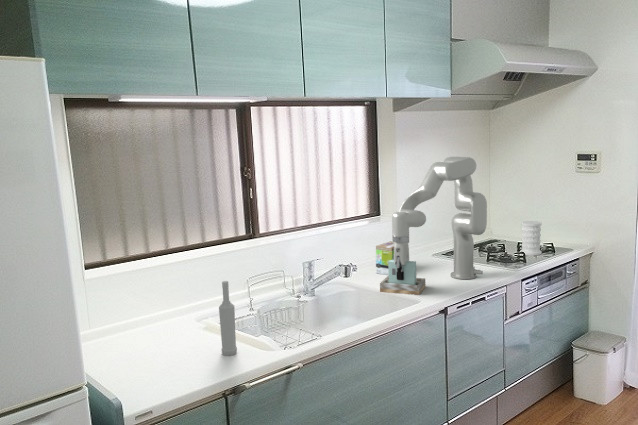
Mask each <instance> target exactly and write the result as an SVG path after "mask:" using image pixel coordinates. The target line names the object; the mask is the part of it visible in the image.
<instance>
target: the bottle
mask: <svg viewBox="0 0 638 425" xmlns="http://www.w3.org/2000/svg"><path fill="white" fill-rule="evenodd" d="M221 287H222V300H223V301H222V302H221V304H220V305H219V306H218V314H219V324H220V337H221V355H223V356H225V357H232V356H234V355H236V354H237V352H238V351H237V350H238V348H237V343H236V341H237V340H236V338H237V337H236V318H235V317H236V315H235V312H236V311H235V305H234V304H233V303H232V302H231V300H230V292H229V281H228V280H224V281H222V282H221Z"/></svg>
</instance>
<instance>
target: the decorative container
mask: <svg viewBox="0 0 638 425" xmlns="http://www.w3.org/2000/svg"><path fill="white" fill-rule="evenodd" d="M520 225H521V226H522V228H521V230H522V232H521V236H522V239H521V242H522V244H521V249H520V251H523V252H524V253H525V254H526V255H525V256H540V255H543V254H542V252H543V251H542V250H541V249H540V248H541V230H542V229H541V226H542V225H543V224H542V222H541V221H538V220H524V221H521V224H520ZM520 251H519V252H520Z"/></svg>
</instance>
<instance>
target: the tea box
mask: <svg viewBox="0 0 638 425" xmlns="http://www.w3.org/2000/svg"><path fill="white" fill-rule="evenodd" d="M390 260H394V243H393V240H392V241H387V242H385V243H381V244H377V245H376V246H375V273H376V274H379V275H385V276H389V268H388V262H389V261H390Z"/></svg>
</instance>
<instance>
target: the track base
mask: <svg viewBox="0 0 638 425" xmlns="http://www.w3.org/2000/svg"><path fill="white" fill-rule="evenodd" d="M426 286H427V285H426V278H422V277H416V285H409V284H396V283H389V275H386V277H385V278H384V279H383V280H381V281H380V283H379V292H381V293H391V294H401V293H404V295H413V294H414V295H415V296H420V294H421V293H422V292H423V290H425V288H426ZM414 295H413V296H414Z"/></svg>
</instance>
